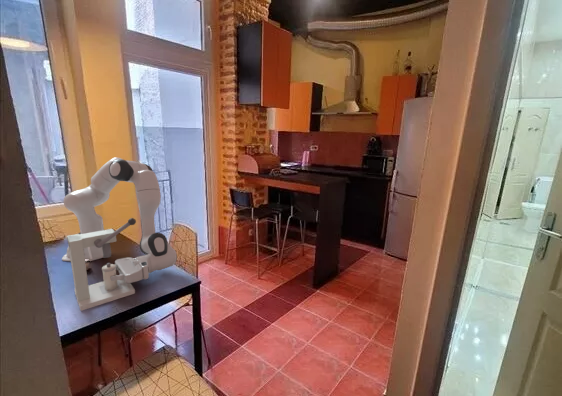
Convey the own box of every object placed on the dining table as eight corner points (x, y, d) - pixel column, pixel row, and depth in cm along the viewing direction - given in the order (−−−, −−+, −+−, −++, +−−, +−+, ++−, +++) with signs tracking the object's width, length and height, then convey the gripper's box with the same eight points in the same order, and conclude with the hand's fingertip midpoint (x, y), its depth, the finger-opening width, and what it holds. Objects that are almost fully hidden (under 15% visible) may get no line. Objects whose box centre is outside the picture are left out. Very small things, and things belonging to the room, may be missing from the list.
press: (133, 276, 140) (126, 210, 132) (143, 290, 128) (137, 219, 121) (75, 293, 125) (63, 219, 117) (80, 310, 113) (68, 230, 105)
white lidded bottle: (102, 290, 124) (99, 266, 121) (107, 284, 129) (104, 261, 126) (114, 290, 124) (112, 266, 122) (119, 284, 129) (117, 260, 127)
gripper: (134, 252, 140) (102, 259, 131) (148, 267, 126) (112, 276, 117) (135, 263, 142) (103, 272, 133) (149, 280, 127) (114, 290, 118)
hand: (108, 274), depth 125 cm, fingers open, 8 cm apart
